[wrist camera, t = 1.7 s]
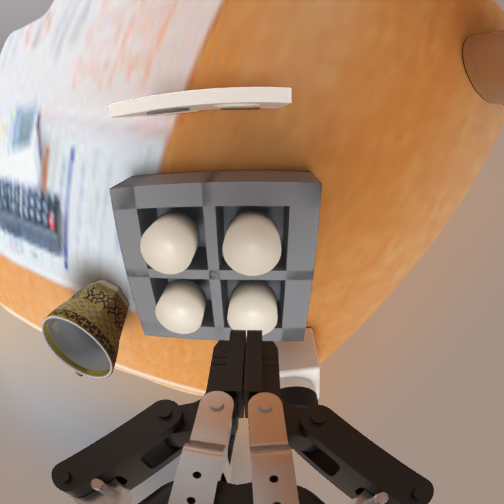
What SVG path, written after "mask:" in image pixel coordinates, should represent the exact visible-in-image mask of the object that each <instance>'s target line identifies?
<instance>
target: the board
mask: <svg viewBox="0 0 504 504" xmlns="http://www.w3.org/2000/svg"><path fill="white" fill-rule="evenodd" d="M321 188H322V183H321V182H320V181H319V180H318V179H317V178H316V177H315V175H314V174H313V173H312V172H309V171H276V170H232V171H199V172H179V173H164V174H151V175H140V176H132V177H130V178H128V179H126V180H124V181H123V182H121V183H119V184H117V185H115V186H114V187H112V188H110V196H111V202H112V208H113V213H114V219H115V224H116V229H117V234H118V239H119V244H120V248H121V253H122V257H123V261H124V265H125V269H126V273H127V277H128V281H129V285H130V288H131V292H132V296H133V299H134V302H135V306H136V309H137V312H138V316H139V319H140V322H141V325H142V328H143V331H144V334H145V335H150V336H160V337H171V338H184V339H199V340H218V341H219V340H229V338H230V331H231V330H233V329H232V328H231V327H230V325H229V323H228V320H227V315H228V309H229V302H230V296H231V292H232V291H233V289H234V288H235V287H236V286H237V285H238V284H240V283H242V282H245V281H252V280H254V281H260V282H263V283H266V284H267V285H269V286H270V287H271V288H272V289H273V290H274V292H275V295H276V302H277V316H278V320H277V324H276V326H275V327H274V329H273V330H272V331H270V332H269V333H267V334H265V335H262V341H274V342H281V341H304V336H305V329H306V323H307V316H308V310H309V303H310V295H311V288H312V280H313V272H314V264H315V255H316V246H317V236H318V225H319V214H320V202H321ZM249 210H256V211H261V212H264V213H266V214H267V215H269V216H270V217H271V218H272V219H273V220H274V221H275V222H276V224H277V226H278V229H279V235H280V242H281V257H280V259H279V261H278V263H277V264H276V266H275V267H274V268H273V269H272V270H270V271H269V272H267V273H265V274H262V275H257V276H247V275H243V274H240V273H238V272H236V271H234V270H233V269H232V268H231V267H230V266H229V265H228V264H227V262H226V261H225V259H224V256H223V251H222V249H223V242H224V239H225V235H226V231H227V228H228V225H229V223H230V222H231V220H232V219H233V218H234V217H235V216H236V215H238V214H239V213H242V212H244V211H249ZM171 211H176V212H181V213H184V214H186V215H187V216H189V217H190V218H191V219H192V220H193V221H194V222H195V223H196V225H197V227H198V229H199V232H200V242H199V245H198V247H197V250H196V252H195V254H194V256H193V259H192V261H191V263H190V265H189V266H188V267H187V268H186V269H185V270H184V271H182V272H180V273H177V274H163V273H160V272H158V271H156V270H154V269H153V268H152V267H150V266H149V265H148V264H147V262H146V261H145V260H144V258H143V256H142V253H141V249H140V242H141V238H142V236H143V234H144V232H145V231H146V230H147V229H148V228H149V227H150V226H151V225H152V223H153V222H154V221H155V220H156V219H157V218H158V217H159V216H160V215H162V214H164V213H166V212H171ZM177 279H185V280H189V281H192V282H194V283H196V284H197V285H199V286H200V287H201V288H202V289H203V291H204V292H205V294H206V298H207V304H206V307H205V311H204V315H203V319H202V323H201V326H200V327H199V329H197V330H196V331H195V332H193V333H189V334H179V333H175V332H172V331H170V330H168V329H166V328H165V327H164V326H163V325H161V323H160V322H159V321H158V319H157V317H156V313H155V309H156V306H157V303H158V301H159V299H160V297H161V295H162V293H163V291H164V289H165V287H166V286H167V284H168V283H170V282H171V281H173V280H177ZM246 341H247V336H246Z"/></svg>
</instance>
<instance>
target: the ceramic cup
mask: <svg viewBox="0 0 504 504" xmlns="http://www.w3.org/2000/svg"><path fill="white" fill-rule="evenodd" d="M128 306H129V304H128V301H127V299H126V298H125V296H124V295H123V293H122V291H121V290H120V288H119V287H118V286H116V285H114V284H112V283H110V282H108V281H106V280H104V279H102V280H99V281H96V282H93V283H90V284H88V285H87V286H85V287H84V288H83V289H82V290H80V291H79V292H78V293H76V294H75V295H74V296H72V297H71V298H70V299H69V300H68V301H66V302H65V303H63V304H61V305H60V306H59V307H57V308H56V309H55V310H53V311H52V312H51V313H50V314H49V315H48V316H47V317H46V318H45V319H44V320H43V322H42V333H43V336H44V339H45V341H46V343H47V344H48V346H49V347H50V349H51V350H52V351H53V353H54V354H55V355H56V356H57V357H58V358H59V359H60V360H61V361H62V362H63V363H65V364H66V365H67V366H68V367H70V368H71V369H73V370H75V371H76V373H77V374H78V375H79V376H83V375H85V376H88V377H92V378H97V379H98V378H99V379H101V378H107V377H109V376H110V375H111V374H112V372H113V369H114V366H115V362H116V358H117V353H118V348H119V340H120V336H121V332H122V329H123V325H124V322H125V319H126V315H127V310H128Z"/></svg>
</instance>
